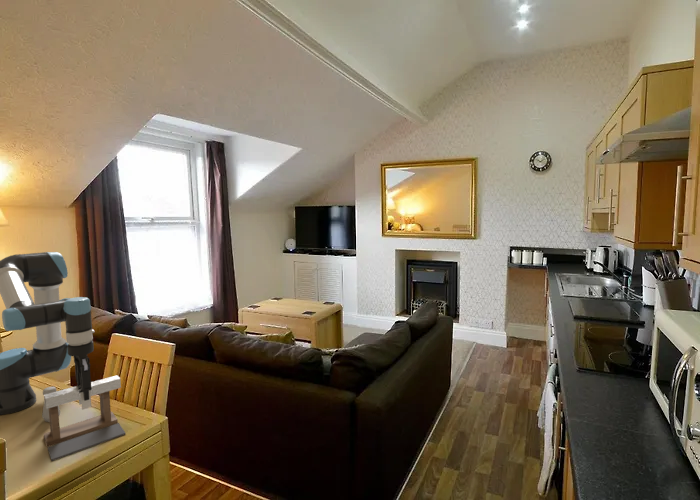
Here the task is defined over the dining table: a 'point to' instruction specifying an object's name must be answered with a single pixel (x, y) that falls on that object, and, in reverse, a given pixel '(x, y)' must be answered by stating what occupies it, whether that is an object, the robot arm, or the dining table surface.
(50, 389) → the salt shaker
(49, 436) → the bracket stand
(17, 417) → the dining table surface
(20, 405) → the robot arm
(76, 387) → the metal rail
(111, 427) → the rubber mat
